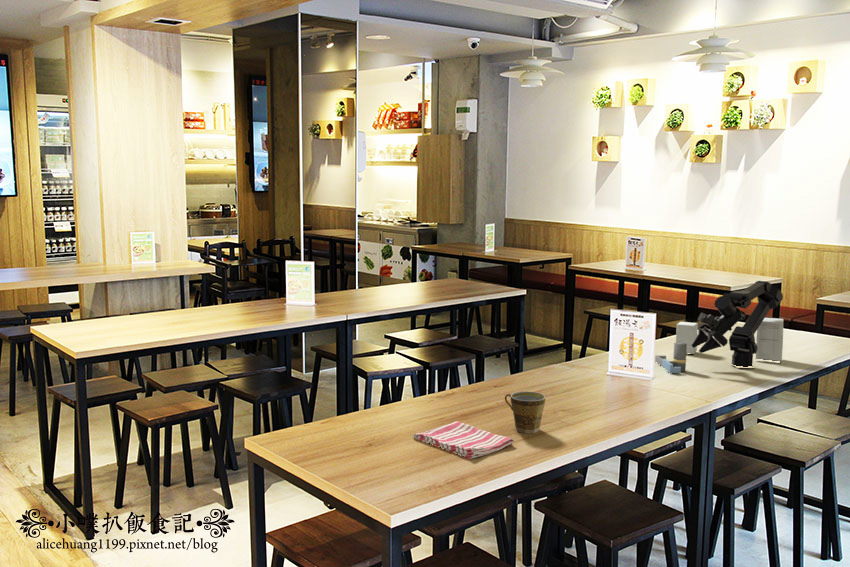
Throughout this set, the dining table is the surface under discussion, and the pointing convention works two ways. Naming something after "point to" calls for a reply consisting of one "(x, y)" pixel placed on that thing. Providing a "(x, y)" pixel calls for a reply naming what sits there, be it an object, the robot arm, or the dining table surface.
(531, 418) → the ceramic cup
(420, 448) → the dining table surface
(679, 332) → the supplement box
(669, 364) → the duct rail
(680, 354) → the gray banded cylinder
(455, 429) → the dish towel
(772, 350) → the supplement box
